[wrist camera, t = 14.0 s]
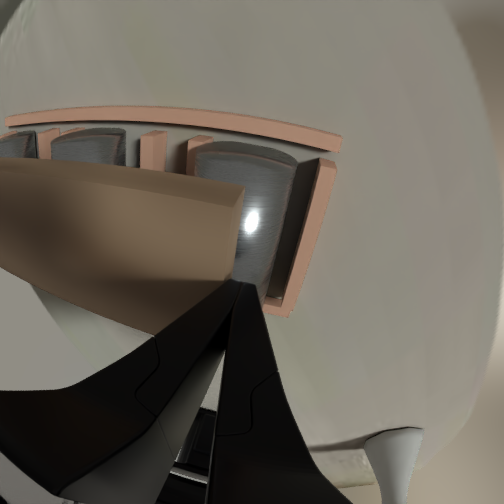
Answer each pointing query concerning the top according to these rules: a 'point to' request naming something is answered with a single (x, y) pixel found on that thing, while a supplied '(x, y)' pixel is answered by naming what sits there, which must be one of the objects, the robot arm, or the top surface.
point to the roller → (18, 145)
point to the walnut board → (118, 236)
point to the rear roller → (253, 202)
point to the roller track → (156, 158)
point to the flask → (394, 461)
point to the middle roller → (91, 146)
